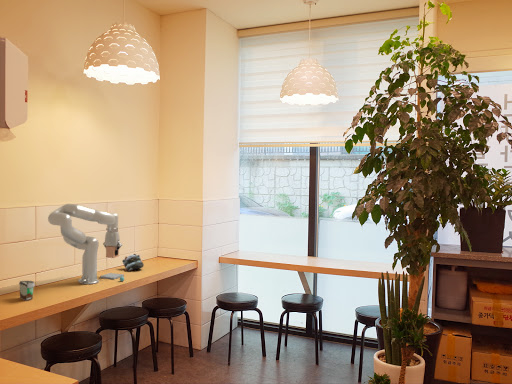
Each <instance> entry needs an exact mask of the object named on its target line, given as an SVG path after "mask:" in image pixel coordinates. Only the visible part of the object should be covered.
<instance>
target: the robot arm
mask: <svg viewBox="0 0 512 384" xmlns="http://www.w3.org/2000/svg"><path fill="white" fill-rule="evenodd" d="M72 217H73V218H77V219H81V220H83V221H88V222H96V223H98V224H100V225H104V226H105V225H106V227H107V228H106V229H105V231H106V232H105V235H104V242H103V243H102V245H103V246H104V248H105V249H106V246H115V249H116V250H115V256H116V255H118V250H119V251H120V248H121V247H122V246H123V244H122V243H121V241H120V233H119V214H118V213H115V212H114V213H111V212H110V213H109V212H104V211H101V210H97V209H94V208H90V207H86V206H83V205H81V204H75V203H65V204H63V205H61V206H60V207H58V208H57V209H55V210H53V211H51V212H50V213H49V215H48V217H47V220H48V223H49V224H50V225H53V226H57V227H58V226H59V227H60V234H61V236H62V238H63V241H64V242H65V243H66V244H67V245H70V246H71V247H73V248H76V249H78V250H82V251H84V252H83V254H82V260H81V264H82V265H81V267H82V270H81V272H82V274H81V275H82V276H81V277H80V278H79V279H78V280H77V282H78V283H80V284H81V285H93V284H98V283H99V282H100V279H98V277H97V276H98V249H99V246H100V245H99V244H100V243H99V242H100V241H99V240H98V238H96V237H94V236H86V234H85V233H84V232H83V231H81V230H79V229H78V228H75V227H74V226H73V224H72Z"/></svg>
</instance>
